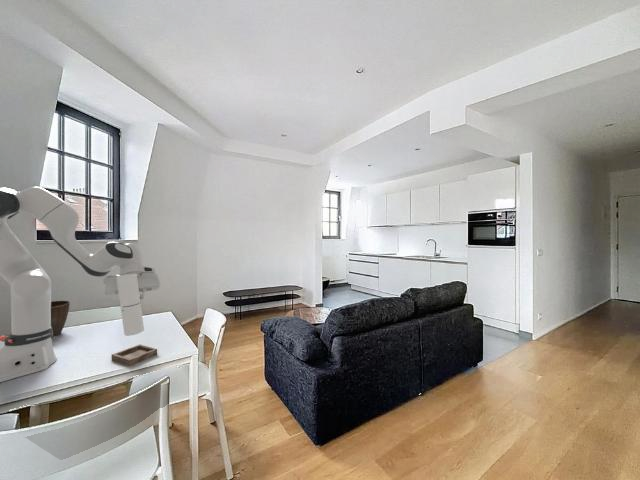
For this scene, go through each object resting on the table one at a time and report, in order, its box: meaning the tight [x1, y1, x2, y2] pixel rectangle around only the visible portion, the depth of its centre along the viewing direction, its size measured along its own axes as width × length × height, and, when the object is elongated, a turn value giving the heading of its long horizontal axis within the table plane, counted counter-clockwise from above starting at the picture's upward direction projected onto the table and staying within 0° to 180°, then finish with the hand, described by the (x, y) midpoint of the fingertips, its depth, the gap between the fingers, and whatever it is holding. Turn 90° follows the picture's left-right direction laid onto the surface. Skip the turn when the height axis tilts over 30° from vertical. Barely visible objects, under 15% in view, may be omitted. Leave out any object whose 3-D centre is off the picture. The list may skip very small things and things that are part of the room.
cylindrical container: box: [116, 274, 145, 337], centre depth 119 cm, size 7×7×25 cm
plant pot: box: [51, 300, 71, 337], centre depth 145 cm, size 15×15×16 cm
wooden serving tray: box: [111, 343, 158, 367], centre depth 120 cm, size 12×12×2 cm
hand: (135, 299), depth 119 cm, fingers closed on cylindrical container, 4 cm apart
